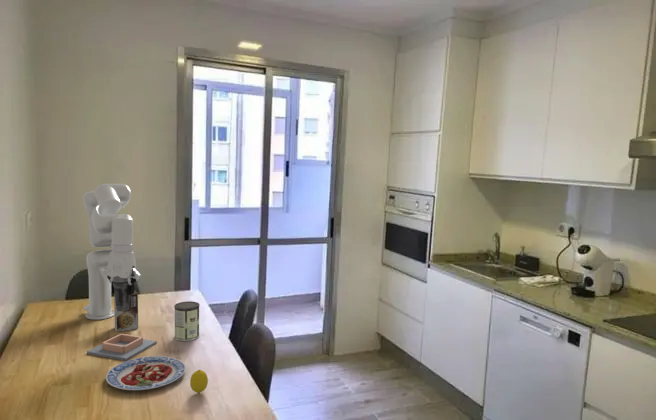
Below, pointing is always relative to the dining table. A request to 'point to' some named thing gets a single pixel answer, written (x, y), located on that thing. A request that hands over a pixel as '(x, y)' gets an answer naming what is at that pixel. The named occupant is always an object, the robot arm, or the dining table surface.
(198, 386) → the lemon
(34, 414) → the dining table surface
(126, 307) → the beverage cup
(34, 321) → the dining table surface
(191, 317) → the coffee can
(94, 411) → the dining table surface
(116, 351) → the collar stand
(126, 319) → the coffee box
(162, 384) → the ceramic plate
